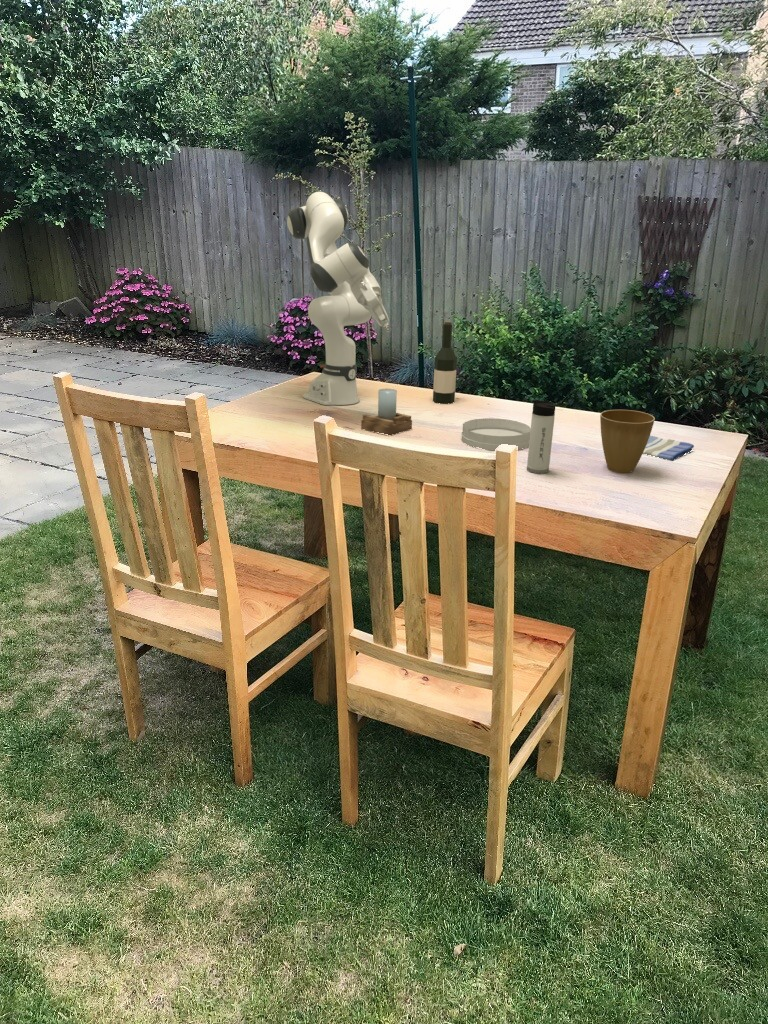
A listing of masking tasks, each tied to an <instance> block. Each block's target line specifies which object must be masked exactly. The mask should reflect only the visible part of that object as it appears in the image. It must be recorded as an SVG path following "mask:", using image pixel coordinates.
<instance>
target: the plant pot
mask: <svg viewBox="0 0 768 1024" xmlns="http://www.w3.org/2000/svg"><path fill="white" fill-rule="evenodd" d="M599 416H600V417H599V418H600V423H599V424H600V436H601V444H602V449H603V451H602V452H603V455H604V459H605V464H606V467H607V469H608V470H609V471H611V472H614V473H619V474H628V473H629V474H630V473H633V472H634V471H635V469H636V467H637V465H638V464H639V462H640V460H641V458H642V456H643V455H644V454H643V452H644V449H645V447H646V445H647V442H648V439H649V437H650V436H651V433H652V429H653V427H654V424H655V420H656V418H655V416H653V415H652V414H650V413H646V412H643V411H639V410H630V409H610V410H604V411H602V412H600V414H599Z"/></svg>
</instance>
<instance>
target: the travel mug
mask: <svg viewBox="0 0 768 1024" xmlns="http://www.w3.org/2000/svg"><path fill="white" fill-rule="evenodd" d="M531 403H532V404H533V405H532V413H531V422H530V428H531V430H530V441H529V446H528V452H527V462H526V463H527V465H526V470H527V471H528V472H529V473H533V474H539V475H540V474H546V473H548V472H549V471H550V465H551V464H550V463H551V456H552V455H551V454H552V444H553V434H554V427H555V425H554V424H555V417H556V404H554V403H552V402H550V401H547V400H538V399H534V400H532V402H531Z"/></svg>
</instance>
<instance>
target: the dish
mask: <svg viewBox="0 0 768 1024" xmlns="http://www.w3.org/2000/svg"><path fill="white" fill-rule="evenodd" d="M530 430H531V426H530V425H527V424H525V422H524V423H523V422H521V421H517V420H511V419H506V418H493V417H492V418H490V417H489V418H488V417H487V418H476V419H475V418H474V419H470V420H467V421H465V422H463V423H462V431H461V435H460V436H461V438H460V440H462V441H461V442H462V443H463V444H464V443H466V444H467V445H466V444H465V445H466V446H468V445H469V446H468V447H471V446H474V447H479V448H482V449H485V450H484V451H491V452H496V451H495V449H496V448H497V447H498V446H499V445H501V444H508V445H516V446H518V449H521V450H523V449H522V448H524V449H527V448H529V441H530ZM474 447H473V448H474ZM482 449H481V450H482Z"/></svg>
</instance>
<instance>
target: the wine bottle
mask: <svg viewBox="0 0 768 1024" xmlns="http://www.w3.org/2000/svg"><path fill="white" fill-rule="evenodd" d="M452 333H453V324H452V322H451V321H444V322H443V324H442V336H441V337H442V340H441V341H442V343H441V348H440V349H439V351H438V352H437V354H436V355H435V357H434V365H433V366H434V371H433V386H432V387H433V390H432V402H433V401H434V402H433V403H435V404H439V403H440V405H449V404H448V403H452V404H453V402H454V403H455V400H456V399H455V398H456V384H457V383H456V382H457V381H456V379H457V365H458V364H457V363H458V358H457V356H456V354H455V352H454V350H453V348H452V337H453V335H452Z"/></svg>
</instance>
